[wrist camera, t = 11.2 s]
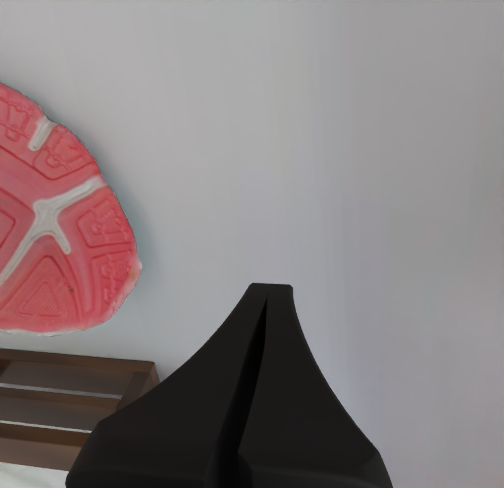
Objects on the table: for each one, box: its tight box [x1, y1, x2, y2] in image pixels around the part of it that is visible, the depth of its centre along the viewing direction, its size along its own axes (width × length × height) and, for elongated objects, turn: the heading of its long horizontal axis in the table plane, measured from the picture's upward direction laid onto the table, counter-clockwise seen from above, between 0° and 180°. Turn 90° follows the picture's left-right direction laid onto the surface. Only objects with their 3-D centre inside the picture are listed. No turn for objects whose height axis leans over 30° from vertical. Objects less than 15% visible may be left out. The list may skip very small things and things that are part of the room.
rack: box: [0, 349, 159, 471], centre depth 28 cm, size 3×15×7 cm, turn 92°
